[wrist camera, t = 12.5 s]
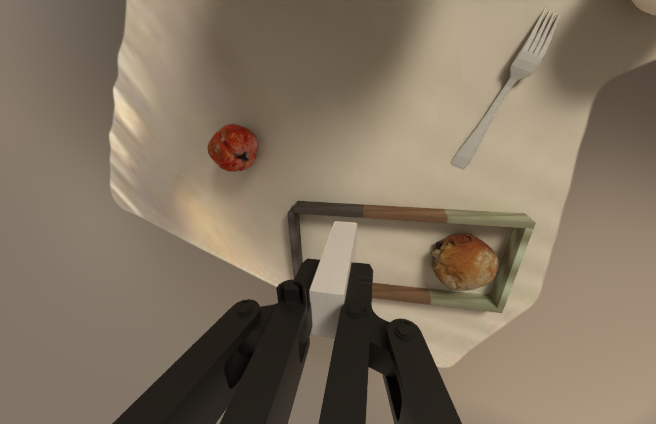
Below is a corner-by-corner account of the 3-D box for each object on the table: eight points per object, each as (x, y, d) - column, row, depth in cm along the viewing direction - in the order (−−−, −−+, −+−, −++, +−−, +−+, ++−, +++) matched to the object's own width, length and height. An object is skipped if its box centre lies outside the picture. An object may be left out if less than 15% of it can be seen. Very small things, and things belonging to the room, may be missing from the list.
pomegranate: (232, 156, 48) (256, 188, 43) (191, 146, 42) (213, 181, 37) (249, 120, 45) (276, 150, 40) (208, 104, 39) (234, 136, 34)
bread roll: (440, 268, 51) (460, 306, 45) (414, 249, 45) (433, 290, 40) (488, 242, 47) (517, 281, 41) (467, 218, 41) (496, 259, 36)
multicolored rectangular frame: (292, 200, 47) (287, 207, 44) (525, 213, 40) (535, 222, 37) (299, 278, 54) (295, 288, 52) (495, 300, 48) (501, 313, 45)
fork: (444, 160, 41) (446, 166, 39) (543, 1, 30) (555, -3, 27) (460, 166, 41) (464, 173, 39) (566, 10, 30) (580, 6, 27)
